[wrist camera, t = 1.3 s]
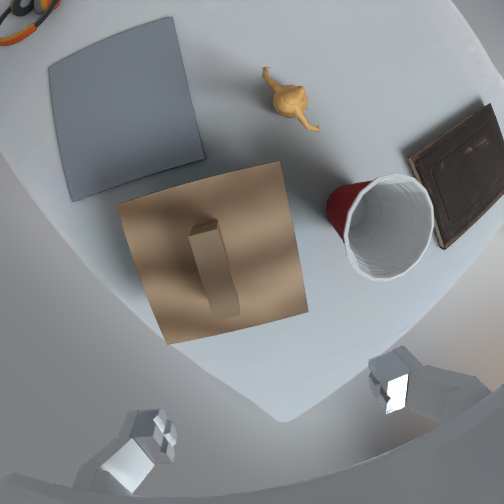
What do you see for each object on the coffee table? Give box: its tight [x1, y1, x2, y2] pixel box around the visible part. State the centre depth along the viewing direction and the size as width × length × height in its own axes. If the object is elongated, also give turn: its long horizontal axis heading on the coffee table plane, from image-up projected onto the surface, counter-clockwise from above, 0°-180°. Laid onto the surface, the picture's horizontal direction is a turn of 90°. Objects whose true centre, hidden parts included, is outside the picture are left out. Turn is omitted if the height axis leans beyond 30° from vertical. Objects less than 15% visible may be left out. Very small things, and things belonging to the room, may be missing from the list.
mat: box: [49, 17, 205, 202], centre depth 29 cm, size 20×18×1 cm
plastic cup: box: [327, 173, 434, 281], centre depth 31 cm, size 11×11×12 cm
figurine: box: [262, 67, 320, 132], centre depth 26 cm, size 8×6×12 cm
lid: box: [116, 161, 308, 345], centre depth 27 cm, size 16×16×5 cm
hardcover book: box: [408, 103, 504, 250], centre depth 36 cm, size 16×23×2 cm
